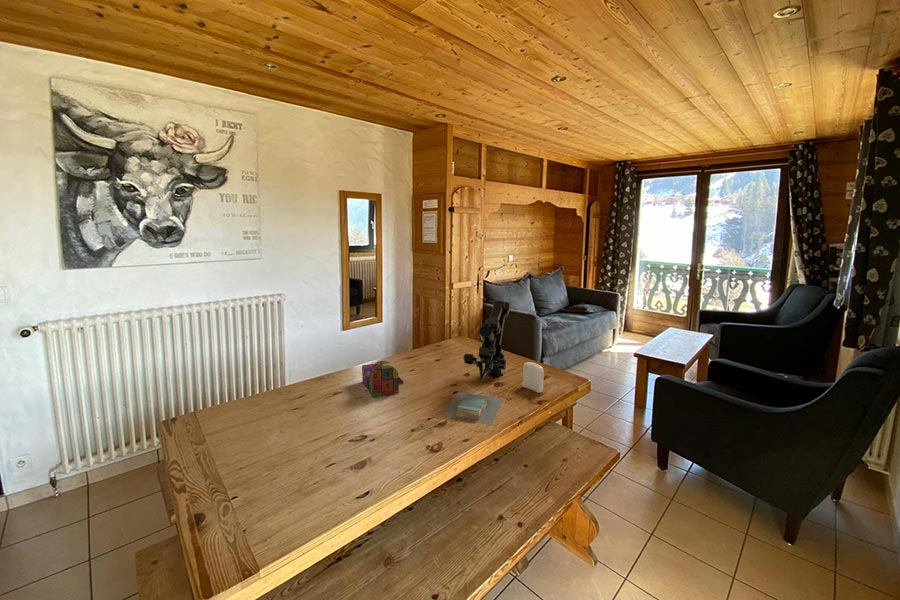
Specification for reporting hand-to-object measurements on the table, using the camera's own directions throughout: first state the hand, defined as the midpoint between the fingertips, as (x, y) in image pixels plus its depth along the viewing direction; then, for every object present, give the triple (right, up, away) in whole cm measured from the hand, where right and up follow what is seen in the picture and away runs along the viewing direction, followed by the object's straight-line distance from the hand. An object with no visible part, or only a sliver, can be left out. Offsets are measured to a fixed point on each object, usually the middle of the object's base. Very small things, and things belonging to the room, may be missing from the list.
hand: (481, 379), depth 176 cm
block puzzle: (-44, -5, +14) cm, 47 cm away
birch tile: (-2, -7, -6) cm, 10 cm away
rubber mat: (-4, -10, -9) cm, 14 cm away
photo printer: (+24, -7, +11) cm, 27 cm away
